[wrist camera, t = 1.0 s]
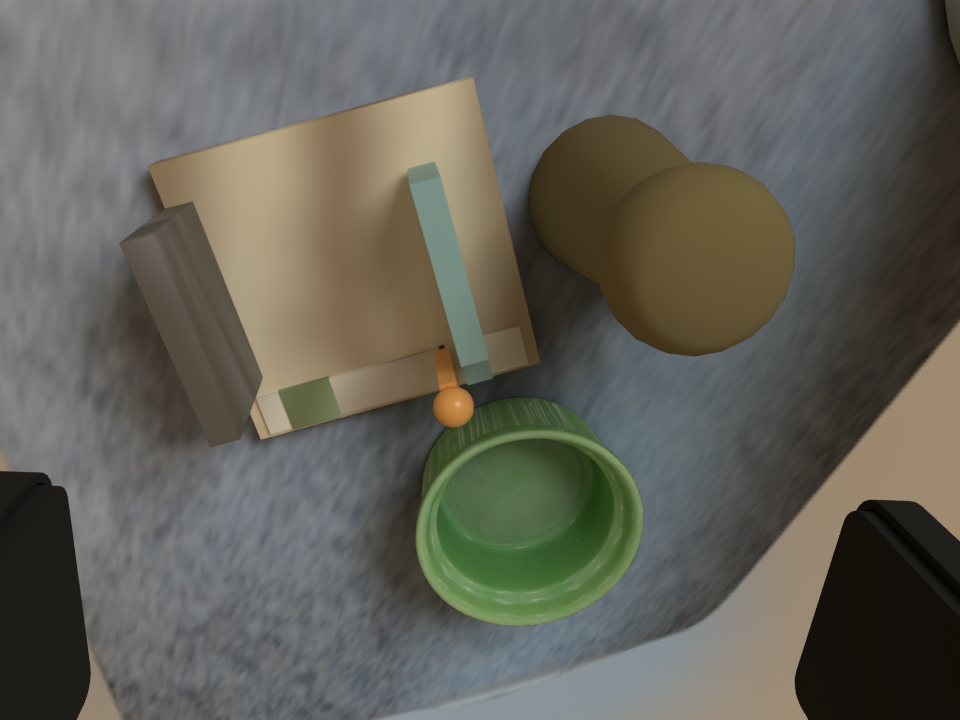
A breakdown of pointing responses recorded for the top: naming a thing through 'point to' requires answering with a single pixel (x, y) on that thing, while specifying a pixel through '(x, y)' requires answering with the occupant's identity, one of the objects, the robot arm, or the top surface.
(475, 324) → the pad
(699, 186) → the cork
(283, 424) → the stand
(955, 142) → the top surface
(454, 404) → the ball-ended orange rod
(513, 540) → the ramekin
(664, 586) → the top surface
